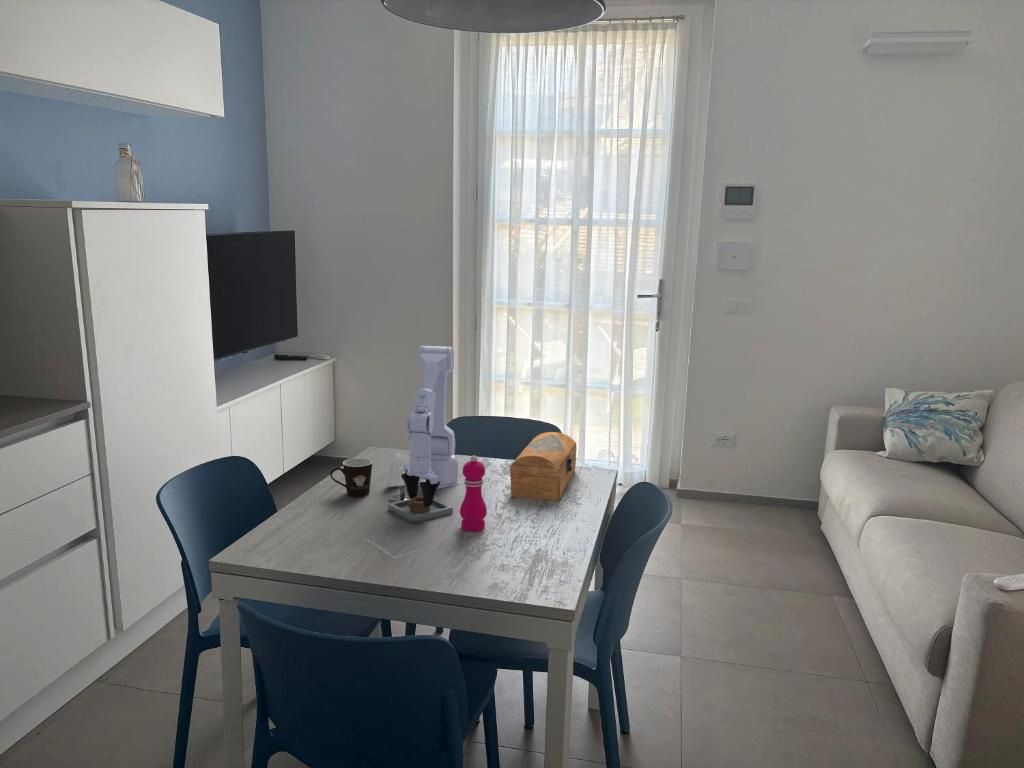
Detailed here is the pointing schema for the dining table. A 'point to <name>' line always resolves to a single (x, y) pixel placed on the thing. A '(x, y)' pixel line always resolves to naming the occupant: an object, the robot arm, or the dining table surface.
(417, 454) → the robot arm
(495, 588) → the dining table surface
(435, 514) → the tray
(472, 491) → the pepper mill
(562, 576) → the dining table surface
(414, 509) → the ring
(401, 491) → the grey round piece
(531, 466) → the wooden box
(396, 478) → the salt and pepper shakers
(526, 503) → the dining table surface
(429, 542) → the dining table surface
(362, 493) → the coffee mug
